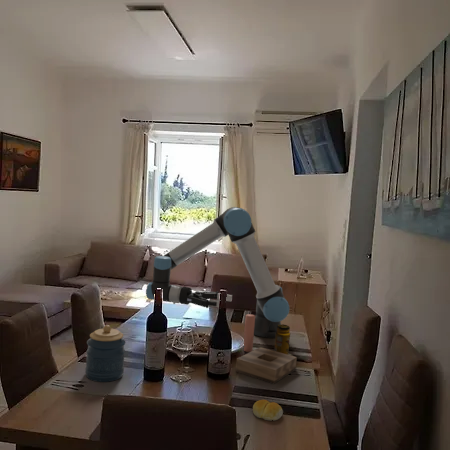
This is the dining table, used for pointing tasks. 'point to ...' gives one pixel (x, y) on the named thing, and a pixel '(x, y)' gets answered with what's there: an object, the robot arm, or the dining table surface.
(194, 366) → the dining table surface
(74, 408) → the dining table surface
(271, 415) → the bread roll
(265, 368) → the socket block
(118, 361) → the canister
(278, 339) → the condiment
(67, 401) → the dining table surface
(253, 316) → the peg
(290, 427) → the dining table surface
